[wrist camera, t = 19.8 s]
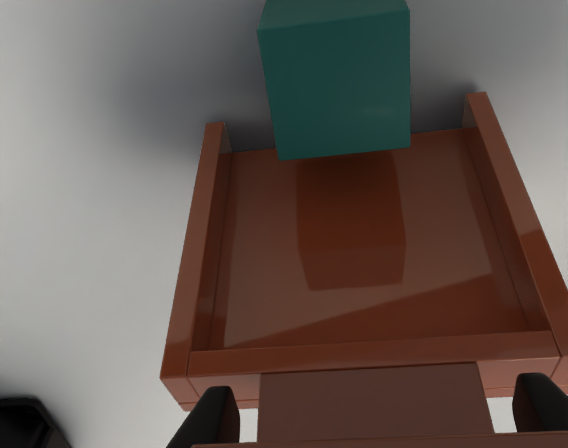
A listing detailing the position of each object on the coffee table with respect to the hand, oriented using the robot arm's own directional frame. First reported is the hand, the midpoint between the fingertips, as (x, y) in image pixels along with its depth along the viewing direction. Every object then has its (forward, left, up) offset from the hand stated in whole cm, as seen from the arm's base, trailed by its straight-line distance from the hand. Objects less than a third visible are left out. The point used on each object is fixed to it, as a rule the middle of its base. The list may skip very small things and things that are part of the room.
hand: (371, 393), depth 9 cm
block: (0, +2, -8) cm, 9 cm away
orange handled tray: (0, -3, -5) cm, 6 cm away
